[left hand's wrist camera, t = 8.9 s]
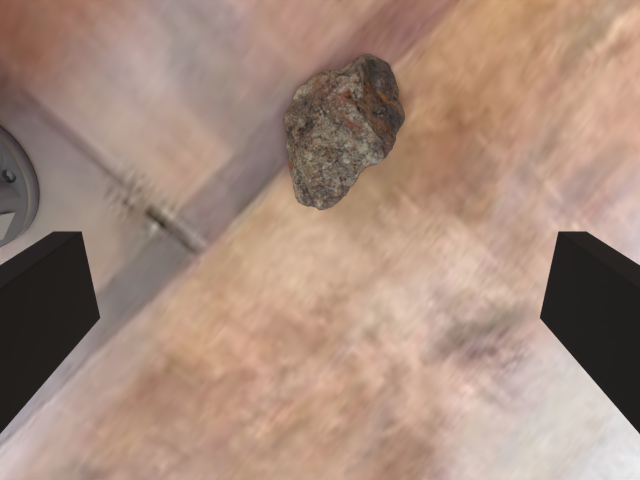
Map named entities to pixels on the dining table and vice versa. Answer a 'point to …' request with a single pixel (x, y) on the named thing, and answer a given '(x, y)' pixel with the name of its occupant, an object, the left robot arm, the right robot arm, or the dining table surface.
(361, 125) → the rock
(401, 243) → the dining table surface
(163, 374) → the dining table surface
